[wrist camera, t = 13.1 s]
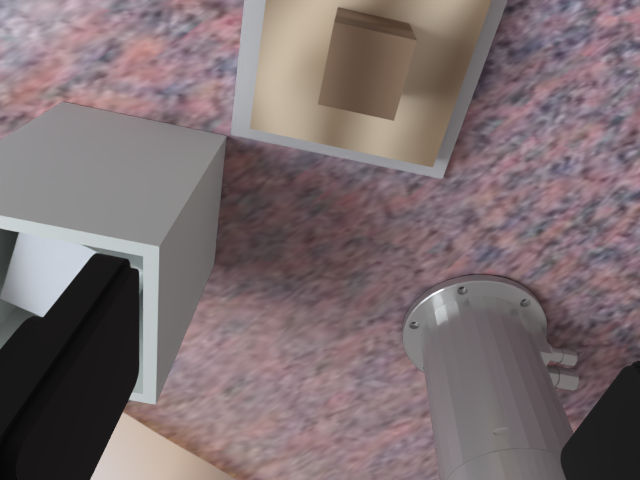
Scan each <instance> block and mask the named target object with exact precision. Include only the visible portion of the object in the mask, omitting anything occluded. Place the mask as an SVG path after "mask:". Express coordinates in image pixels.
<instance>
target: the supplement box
mask: <svg viewBox="0 0 640 480" xmlns="http://www.w3.org/2000/svg"><path fill="white" fill-rule="evenodd" d="M95 253H101V254H106V255H111V256H116V257H121V258H126V259H128V260H129V261H130V266H131V268H136V269H138V270H139V295H140V293H141V291H142V289H143V256H138V255H133V254H128V253H123V252H118V251H113V250H108V249H102V248H97V247H92V246H87V245H82V244H77V243H72V242H67V241H62V240H56V239H51V238H46V237H41V236H36V235H31V234H26V233H21V232H19V234H18V237H17V241H16V244H15V247H14V251H13V254H12V257H11V261H10V264H9V267H8V271H7V274H6V278H5V281H4V285H3V288H2V292H1V295H0V299H2V300H4V301H7V302H9V303H11V304H13V305H16V306H18V307H20V308H22V309H25V310H27V311H29V312H32V313H34V314H36V315H39V316H41V317H44V315H45V314H46V313H47V312H48V310H49V309H50V308H51V307H52V305H53V304H54V303H55V302H56V300H57V299H58V298H59V297H60V295H61V294H62V293H63V292H64V290H65V289H66V288H67V287H68V285H69V284H70V283H71V282H72V280H73V279H74V278H75V277H76V275H77V274H78V273H79V272H80V270H81V269H82V268H83V266H84V265H85V264H86V263H87V261H88V260H89V259H90V258H91V257H92V256H93V255H94V254H95Z"/></svg>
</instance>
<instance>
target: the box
mask: <svg viewBox="0 0 640 480" xmlns="http://www.w3.org/2000/svg"><path fill="white" fill-rule="evenodd" d="M226 138H227V136H225V135H220V134H215V133H211V132H206V131H201V130H196V129H192V128H187V127H182V126H177V125H172V124H168V123H163V122H158V121H153V120H148V119H144V118H139V117H134V116H129V115H124V114H120V113H115V112H110V111H105V110H101V109H96V108H91V107H86V106H81V105H77V104H72V103H67V102H61V103H59V104H58V105H56V106H54V107H53V108H51V109H50V110H48V111H46V112H45V113H43V114H42V115H40V116H38V117H37V118H35V119H34V120H32V121H30V122H29V123H27V124H26V125H24V126H22V127H21V128H19V129H17V130H16V131H14V132H13V133H11V134H9V135H8V136H6V137H5V138H3V139H1V140H0V295H1V292H2V288H3V285H4V281H5V278H6V274H7V271H8V267H9V264H10V261H11V257H12V254H13V251H14V247H15V244H16V241H17V237H18V234H19V232H21V233H26V234H31V235H36V236H41V237H46V238H51V239H56V240H62V241H67V242H72V243H77V244H82V245H87V246H92V247H97V248H102V249H108V250H113V251H118V252H123V253H128V254H133V255H138V256H143V289H142V291H141V293H140V295H139V375H138V379H137V382H136V385H135V387H134V390H133V392H132V394H131V396H130V398H129V400H133V401H139V402H144V403H150V404H155V405H156V403H157V401H158V398H159V396H160V393H161V391H162V389H163V386H164V384H165V382H166V379H167V377H168V374H169V372H170V370H171V367H172V365H173V362H174V360H175V358H176V355H177V353H178V350H179V348H180V346H181V343H182V341H183V339H184V336H185V334H186V331H187V329H188V327H189V324H190V322H191V319H192V317H193V315H194V312H195V310H196V307H197V305H198V303H199V300H200V298H201V296H202V293H203V291H204V288H205V286H206V284H207V281H208V279H209V276H210V274H211V272H212V269H213V267H214V262H215V251H216V241H217V231H218V220H219V210H220V200H221V189H222V179H223V169H224V159H225V148H226ZM32 316H39V315H36V314H34V313H32V312H29V311H27V310H25V309H22V308H20V307H18V306H16V305H13V304H11V303H9V302H7V301H4V300H2V299H0V349H1V348H2V346H3V345H4V344H5V343H6V342H7V340H8V339H9V338H10V337H11V336H12V334H13V333H14V332H15V331H16V330H17V328H18V327H19V326H20V325H21V324H22V323H23V322H24V321H25V320H26V319H28V318H30V317H32ZM39 317H41V316H39Z"/></svg>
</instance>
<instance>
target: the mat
mask: <svg viewBox="0 0 640 480" xmlns="http://www.w3.org/2000/svg"><path fill="white" fill-rule="evenodd" d="M507 1H508V0H492V1H491V3H490V6H489V9H488V12H487V15H486V18H485V21H484V23H483V26H482V29H481V32H480V35H479V38H478V40H477V43H476V46H475V49H474V52H473V55H472V58H471V60H470V63H469V66H468V69H467V72H466V75H465V77H464V80H463V83H462V86H461V89H460V92H459V95H458V97H457V100H456V103H455V106H454V109H453V112H452V114H451V117H450V120H449V123H448V126H447V129H446V132H445V134H444V137H443V140H442V143H441V146H440V149H439V152H438V154H437V157H436V160H435V163H434V166H433V167H428V166H423V165H418V164H414V163H409V162H404V161H400V160H395V159H390V158H386V157H381V156H376V155H371V154H367V153H362V152H357V151H353V150H348V149H343V148H338V147H334V146H329V145H324V144H320V143H315V142H310V141H305V140H301V139H296V138H291V137H287V136H282V135H277V134H272V133H268V132H263V131H258V130H254V129H250V122H251V114H252V106H253V99H254V91H255V83H256V75H257V67H258V59H259V51H260V43H261V35H262V27H263V19H264V11H265V3H266V0H244V10H243V20H242V29H241V39H240V49H239V59H238V69H237V79H236V88H235V98H234V108H233V118H232V128H231V135H234V136H238V137H243V138H248V139H253V140H258V141H262V142H267V143H272V144H277V145H282V146H286V147H291V148H296V149H301V150H305V151H310V152H315V153H320V154H325V155H329V156H334V157H339V158H344V159H349V160H353V161H358V162H363V163H368V164H372V165H377V166H382V167H387V168H392V169H396V170H401V171H406V172H411V173H415V174H420V175H425V176H430V177H435V178H439V179H443V176H444V173H445V170H446V168H447V165H448V162H449V160H450V157H451V154H452V151H453V149H454V146H455V143H456V140H457V138H458V135H459V132H460V129H461V127H462V124H463V121H464V118H465V116H466V113H467V110H468V107H469V105H470V102H471V99H472V96H473V94H474V91H475V88H476V86H477V83H478V80H479V77H480V75H481V72H482V69H483V66H484V64H485V61H486V58H487V55H488V53H489V50H490V47H491V44H492V42H493V39H494V36H495V33H496V31H497V28H498V25H499V22H500V20H501V17H502V14H503V12H504V9H505V6H506V3H507Z"/></svg>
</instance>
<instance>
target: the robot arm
mask: <svg viewBox="0 0 640 480" xmlns="http://www.w3.org/2000/svg"><path fill="white" fill-rule="evenodd" d="M547 328H548V327H547V320H546V316H545V313H544V311H543V309H542V306H541V305H540V303H539V301H538V300H537V298H536V297H535V296H534V295H533V294H532V293H531V292H530V291H529V290H528V289H527V288H525V287H523V286H522V285H520V284H519V283H517V282H514V281H512V280H509V279H506V278H503V277H498V276H493V275H470V276H462V277H458V278H454V279H450V280H447V281H445V282H442V283H440V284H438V285H435V286H434V287H432V288H431V289H429V290H428V291H426V292H424V293H423V294H422V295H421V296H420V297H419V298H418V299H417V300H416V301H415V302H414V303H413V304H412V306H411V307H410V308H409V310H408V312H407V314H406V316H405V318H404V322H403V327H402V336H403V344H404V349H405V351H406V353H407V356H408V358H409V359H410V360H411V362H412V363H413V364H414V365H415V366H416V367H417V368H418V369H419V370H420V371H422V372H423V373H425V379H426V386H427V393H428V400H429V407H430V414H431V422H432V429H433V436H434V443H435V450H436V457H437V464H438V471H439V478H440V480H640V361H636V362H634V363H633V364H632V365H631V366H627V367H625V368H624V369H623V370H622V371H621V372H620V373H619V375H618V376H617V377H616V379H615V380H614V381H613V383H612V384H611V385H610V387H609V388H608V389H607V390H606V392H605V393H604V394H603V396H602V397H601V398H600V400H599V401H598V402H597V404H596V405H595V406H594V408H593V409H592V410H591V411H590V413H589V414H588V415H587V417H586V418H585V419H584V421H583V422H582V423H581V425H580V426H579V427H578V429H577V430H576V431H575V433H574V432H573V430H572V428H571V425H570V423H569V420H568V418H567V415H566V413H565V411H564V408H563V406H562V403H561V401H560V399H559V396H558V394H557V391H556V389H555V388H557V389H562V390H568V391H575V390H576V389H577V387H578V384H579V376H578V373H577V371H576V370H573V369H568V368H563V367H557V366H553V367H552V366H547V364H548V363H549V362H550V361H552V362H557V363H558V364H564V365H569V366H574V365H575V364H576V362H577V358H578V356H577V353H576V351H574V350H569V349H564V348H555V347H552V346H551V344H549V343H548V342H547V340H546V336H547ZM138 375H139V270H138V269H136V268H131V266H130V261H129V260H128V259H126V258H121V257H116V256H111V255H106V254H101V253H95V254H94V255H93V256H92V257H91V258H90V259H89V260H88V261H87V263H86V264H85V265H84V266H83V268H82V269H81V270H80V272H79V273H78V274H77V275H76V277H75V278H74V279H73V280H72V282H71V283H70V284H69V285H68V287H67V288H66V289H65V290H64V292H63V293H62V294H61V295H60V297H59V298H58V299H57V300H56V302H55V303H54V304H53V305H52V307H51V308H50V309H49V310H48V312H47V313H46V314H45V315H44V317H39V316H32V317H30V318H28V319H26V320H25V321H24V322H23V323H22V324H21V325H20V326H19V327H18V328H17V330H16V331H15V332H14V333H13V334H12V336H11V337H10V338H9V339H8V340H7V342H6V343H5V344H4V345H3V346H2V348H1V349H0V480H90V479H91V476H92V474H93V473H94V470H95V468H96V466H97V464H98V462H99V460H100V458H101V456H102V454H103V452H104V450H105V448H106V446H107V443H108V441H109V439H110V437H111V435H112V433H113V431H114V429H115V427H116V425H117V423H118V421H119V419H120V416H121V414H122V412H123V410H124V408H125V406H126V404H127V402H128V400H129V398H130V396H131V394H132V392H133V390H134V387H135V385H136V382H137V379H138Z"/></svg>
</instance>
